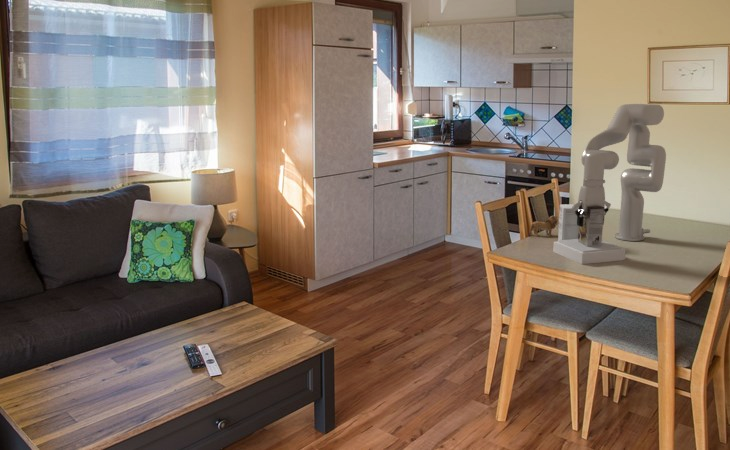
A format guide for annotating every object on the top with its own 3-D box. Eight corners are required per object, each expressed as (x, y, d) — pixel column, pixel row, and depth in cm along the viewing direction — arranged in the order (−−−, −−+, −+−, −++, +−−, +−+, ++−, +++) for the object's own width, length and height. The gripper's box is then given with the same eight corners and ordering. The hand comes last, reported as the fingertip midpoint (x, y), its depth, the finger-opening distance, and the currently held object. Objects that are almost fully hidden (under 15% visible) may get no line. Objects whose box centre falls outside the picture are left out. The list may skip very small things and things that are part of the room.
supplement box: (579, 241, 296) (581, 204, 292) (583, 246, 287) (586, 208, 283) (557, 240, 297) (559, 203, 293) (561, 245, 288) (563, 207, 284)
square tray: (593, 248, 284) (594, 236, 283) (624, 259, 265) (625, 247, 264) (553, 251, 278) (553, 240, 277) (581, 264, 260) (582, 251, 259)
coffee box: (577, 241, 275) (579, 203, 271) (591, 240, 276) (594, 202, 272) (586, 246, 266) (589, 207, 263) (602, 246, 267) (604, 206, 263)
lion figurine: (553, 233, 312) (554, 214, 310) (559, 235, 307) (560, 216, 305) (524, 235, 308) (525, 216, 306) (530, 237, 303) (531, 218, 301)
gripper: (605, 180, 271) (602, 221, 275) (568, 183, 266) (566, 224, 270) (617, 183, 264) (614, 225, 268) (580, 186, 259) (577, 228, 263)
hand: (590, 225), depth 269 cm, fingers open, 9 cm apart
